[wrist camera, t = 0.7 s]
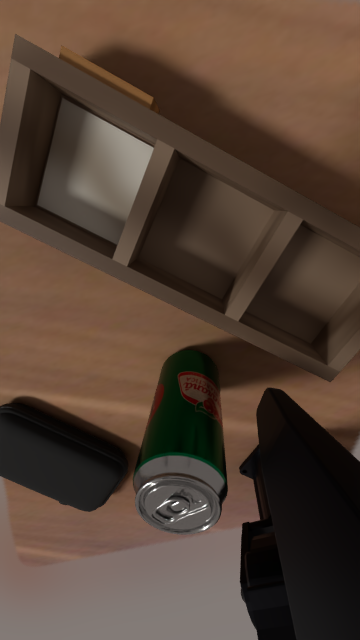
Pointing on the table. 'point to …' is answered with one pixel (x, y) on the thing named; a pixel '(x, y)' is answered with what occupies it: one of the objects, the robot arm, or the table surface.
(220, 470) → the soda can
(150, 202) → the can rack
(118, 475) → the carrying case or bag
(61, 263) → the table surface
